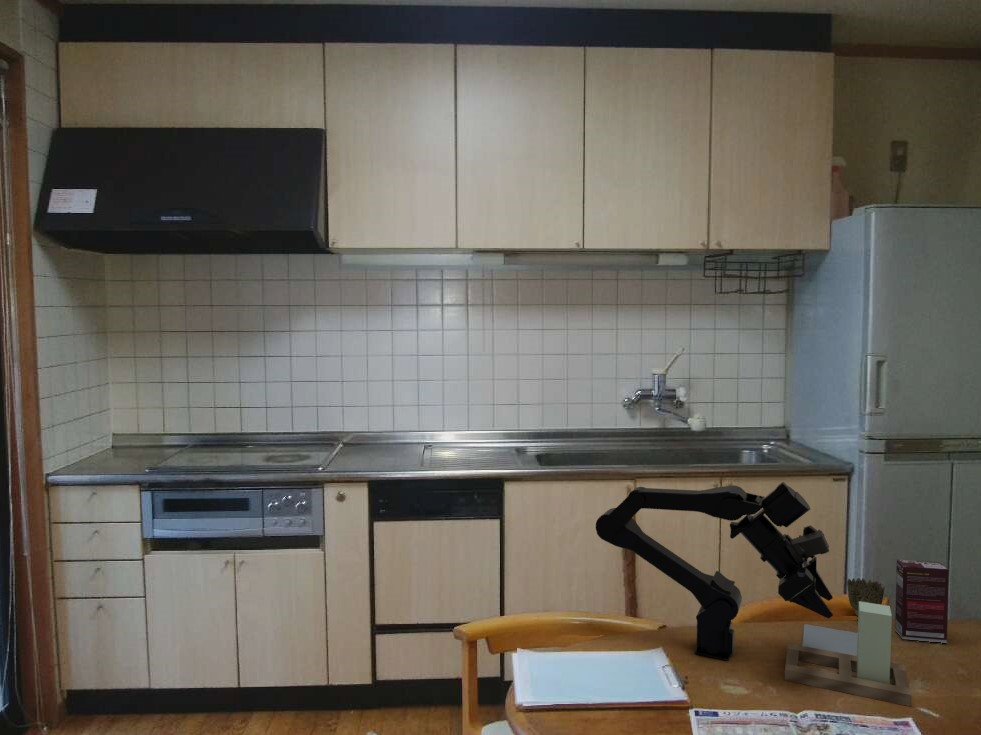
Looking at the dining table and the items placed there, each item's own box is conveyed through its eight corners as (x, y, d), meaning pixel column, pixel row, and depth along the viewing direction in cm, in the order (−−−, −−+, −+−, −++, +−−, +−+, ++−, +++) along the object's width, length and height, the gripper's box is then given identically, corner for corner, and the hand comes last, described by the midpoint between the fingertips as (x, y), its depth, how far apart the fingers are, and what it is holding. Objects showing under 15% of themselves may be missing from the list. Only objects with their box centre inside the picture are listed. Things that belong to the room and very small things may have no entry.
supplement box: (938, 634, 146) (940, 561, 146) (947, 645, 142) (950, 569, 141) (893, 630, 148) (895, 558, 148) (901, 640, 144) (903, 565, 143)
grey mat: (802, 651, 139) (802, 646, 139) (804, 628, 149) (804, 623, 149) (870, 664, 133) (870, 659, 133) (867, 639, 144) (867, 634, 144)
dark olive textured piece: (888, 626, 150) (889, 590, 150) (851, 623, 152) (853, 588, 152) (876, 613, 158) (877, 578, 157) (841, 610, 159) (842, 576, 159)
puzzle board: (784, 680, 127) (784, 669, 127) (788, 652, 138) (788, 643, 138) (910, 706, 118) (911, 695, 118) (904, 675, 129) (904, 664, 129)
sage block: (857, 686, 125) (859, 610, 124) (856, 674, 130) (858, 601, 129) (889, 692, 123) (891, 616, 122) (887, 680, 127) (889, 606, 127)
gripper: (799, 528, 122) (869, 600, 118) (803, 504, 139) (864, 567, 134) (751, 565, 126) (816, 636, 121) (760, 538, 142) (818, 599, 138)
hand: (830, 607), depth 129 cm, fingers open, 9 cm apart
